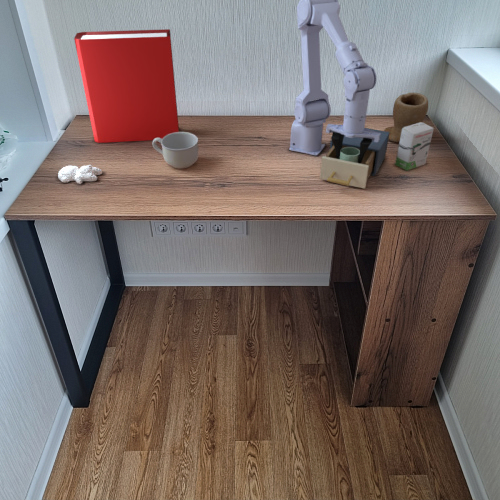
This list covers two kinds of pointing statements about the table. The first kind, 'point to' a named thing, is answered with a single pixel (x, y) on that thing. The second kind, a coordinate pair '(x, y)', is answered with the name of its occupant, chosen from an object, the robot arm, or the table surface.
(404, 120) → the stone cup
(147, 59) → the book
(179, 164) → the teacup
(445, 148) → the table surface
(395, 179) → the table surface
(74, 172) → the white plush toy
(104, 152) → the table surface
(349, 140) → the cabinet
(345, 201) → the table surface
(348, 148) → the cup
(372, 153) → the drawer
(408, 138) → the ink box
